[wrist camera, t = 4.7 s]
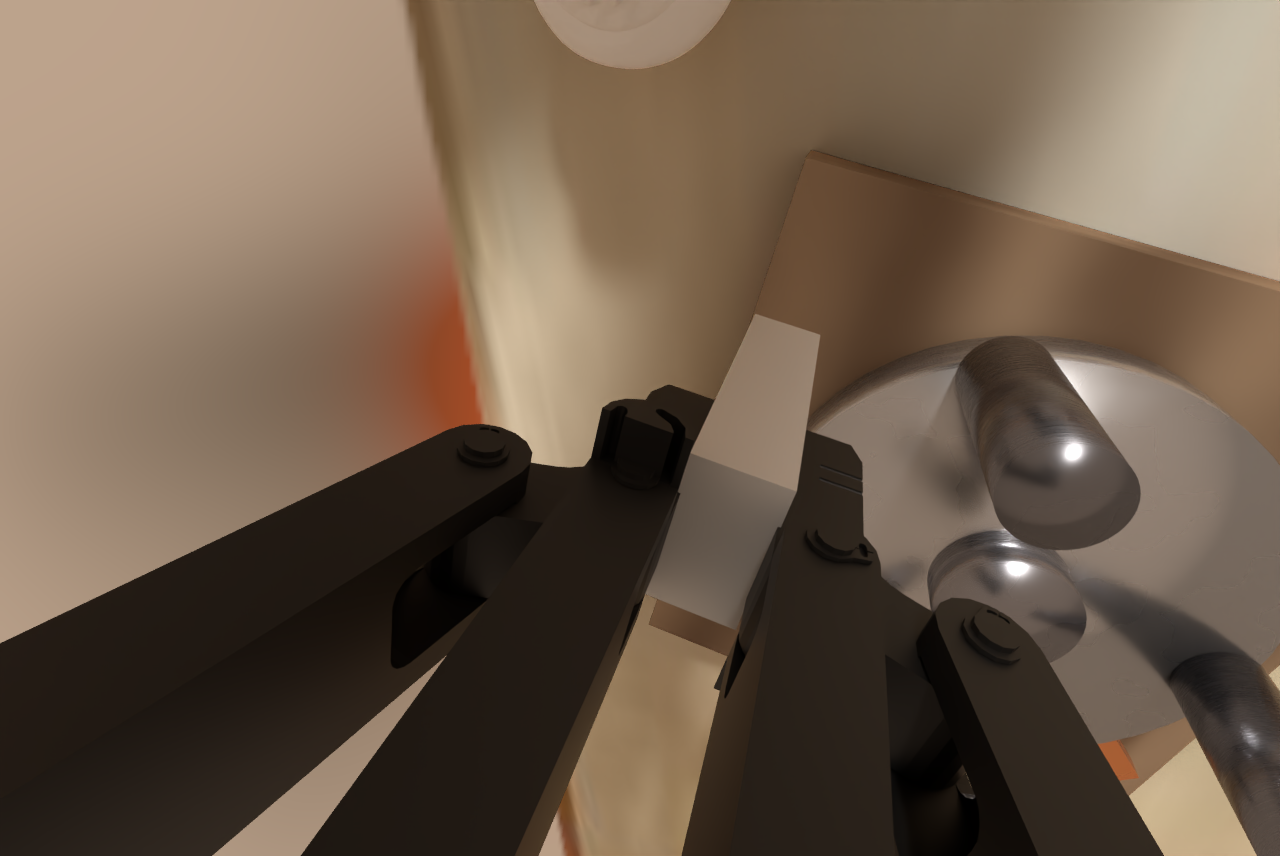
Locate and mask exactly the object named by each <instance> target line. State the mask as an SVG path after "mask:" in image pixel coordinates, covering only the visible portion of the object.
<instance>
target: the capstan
mask: <svg viewBox="0 0 1280 856" xmlns="http://www.w3.org/2000/svg"><path fill="white" fill-rule="evenodd" d="M806 430H809V431H811V432H814V433H817V434H820V435H823V436H826V437H829V438H832V439H835V440H838V441H840V442H843V443H846V444H849V445H851V446H852V447H853V449H854V450H855V452H856V454H857V455H858V457H859V458H860V460H861V461H862V463H863V480H862V482H863V493H862V495H863V522H864V537H866V538H867V540H868V541H869V542H870V543H871V545H872V546H873V547H874V548H875V549H876V551H877V554H878V557H879V560H880V563H881V577H882V578H884V579H885V580H886V581H887V582H888V583H889V584H890V585H891V586H893V587H894V588H896V589H897V590H898V591H900V592H901V593H903V594H904V595H906V596H907V597H909V598H911V599H912V600H914V601H916V602H917V603H919V604H921V605H922V606H924V607H926V608H927V609H929V610H931V611H932V612H934V611H935V610H936V608H937V607H938V605H939V604H940V602H943V601H945V600H948V599H950V598H966V599H972V600H975V601H977V602H980V603H983V604H986V605H989V606H991V607H993V608H995V609H997V610H998V611H1000V612H1002V613H1004V614H1005V615H1007V616H1009V617H1010V618H1011V619H1012V620H1013V621H1015V622H1016V623H1017V624H1018V625H1019V626H1021V627H1022V628H1023V629H1024V630H1025V631H1026V632H1028V633H1029V635H1030V636H1031V637H1032V638H1033V640H1034V641H1035V642H1036V644H1037V645H1038V646H1039V647H1040V649H1041V650H1042V652H1043V653H1044V655H1045V657H1046V658H1047V660H1048V662H1049V663H1050V665H1051V667H1052V668H1053V670H1054V672H1055V673H1056V675H1057V677H1058V678H1059V680H1060V682H1061V683H1062V685H1063V687H1064V689H1065V690H1066V692H1067V694H1068V695H1069V697H1070V699H1071V700H1072V702H1073V704H1074V705H1075V707H1076V709H1077V710H1078V712H1079V714H1080V715H1081V717H1082V719H1083V720H1084V722H1085V724H1086V725H1087V727H1088V729H1089V731H1090V732H1091V734H1092V736H1093V737H1094V739H1095V741H1096V742H1097V744H1098V746H1099V747H1100V749H1101V751H1102V752H1103V754H1104V756H1105V757H1106V759H1107V761H1108V762H1109V764H1110V766H1111V767H1112V769H1113V771H1114V773H1115V774H1116V776H1117V778H1118V779H1119V781H1121V780H1128V779H1136V778H1139V777H1138V774H1137V772H1136V769H1135V767H1134V764H1133V762H1132V759H1131V757H1130V755H1129V754H1128V752H1127V750H1126V749H1125V747H1124V745H1123V744H1122V742H1121V740H1120V739H1124V738H1128V737H1132V736H1136V735H1140V734H1143V733H1146V732H1149V731H1152V730H1155V729H1158V728H1160V727H1163V726H1166V725H1169V724H1171V723H1174V722H1176V721H1178V720H1180V719H1182V718H1185V717H1186V719H1187V721H1188V723H1189V725H1190V727H1191V729H1192V731H1193V733H1194V735H1195V737H1196V738H1197V740H1198V742H1199V744H1200V746H1201V748H1202V750H1203V752H1204V754H1205V756H1206V758H1207V760H1208V762H1209V764H1210V766H1211V767H1212V769H1213V771H1214V773H1215V775H1216V777H1217V779H1218V781H1219V783H1220V785H1221V787H1222V789H1223V791H1224V793H1225V795H1226V796H1227V798H1228V800H1229V802H1230V804H1231V806H1232V808H1233V810H1234V812H1235V814H1236V816H1237V818H1238V820H1239V822H1240V824H1241V825H1242V827H1243V829H1244V831H1245V833H1246V835H1247V837H1248V839H1249V841H1250V843H1251V845H1252V847H1253V849H1254V851H1255V853H1256V854H1257V856H1280V691H1279V689H1278V688H1277V686H1276V685H1275V684H1274V682H1273V681H1272V679H1271V678H1270V676H1269V675H1268V674H1267V672H1266V671H1265V669H1264V668H1263V667H1262V666H1261V665H1262V664H1263V663H1264V662H1265V661H1266V660H1267V659H1268V658H1269V657H1270V655H1271V654H1272V653H1273V652H1274V650H1275V649H1276V648H1277V646H1278V645H1279V643H1280V465H1279V464H1278V462H1277V461H1276V459H1275V458H1274V457H1273V456H1272V455H1271V454H1270V453H1269V452H1268V451H1267V450H1266V449H1265V448H1264V447H1263V446H1262V445H1261V444H1260V443H1259V441H1258V440H1257V439H1256V438H1255V437H1254V436H1253V435H1252V434H1251V433H1250V432H1249V431H1248V430H1246V429H1245V428H1244V427H1243V426H1242V425H1241V424H1240V423H1239V422H1237V421H1236V420H1235V419H1234V418H1233V417H1232V416H1231V415H1229V414H1228V413H1227V412H1226V411H1225V410H1224V409H1223V408H1222V407H1220V406H1219V405H1218V404H1217V403H1216V402H1215V401H1214V400H1212V399H1211V398H1210V397H1208V396H1207V395H1206V394H1204V393H1203V392H1202V391H1200V390H1199V389H1198V388H1196V387H1195V386H1194V385H1192V384H1191V383H1190V382H1188V381H1187V380H1186V379H1184V378H1182V377H1180V376H1178V375H1176V374H1175V373H1173V372H1171V371H1169V370H1167V369H1165V368H1163V367H1161V366H1160V365H1158V364H1156V363H1154V362H1152V361H1149V360H1146V359H1144V358H1141V357H1138V356H1136V355H1133V354H1130V353H1128V352H1125V351H1122V350H1120V349H1116V348H1112V347H1108V346H1103V345H1099V344H1095V343H1091V342H1087V341H1083V340H1075V339H1067V338H1058V337H1050V336H1007V335H1005V336H995V337H985V338H976V339H967V340H962V341H958V342H953V343H948V344H944V345H939V346H934V347H930V348H927V349H925V350H922V351H919V352H916V353H913V354H910V355H907V356H904V357H901V358H898V359H896V360H894V361H891V362H889V363H887V364H885V365H883V366H881V367H879V368H877V369H874V370H872V371H870V372H868V373H866V374H865V375H863V376H862V377H860V378H858V379H857V380H855V381H854V382H852V383H850V384H849V385H847V386H846V387H844V388H842V389H841V390H840V391H839V392H837V393H836V394H835V395H834V396H832V397H831V398H830V399H829V400H827V401H826V402H825V403H824V404H823V405H821V406H820V407H819V408H818V409H817V410H816V411H815V412H814V413H813V414H812V415H811V416H810V417H809V419H808V420H807V427H806Z"/></svg>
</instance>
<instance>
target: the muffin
mask: <svg viewBox="0 0 1280 856" xmlns="http://www.w3.org/2000/svg"><path fill="white" fill-rule="evenodd" d="M534 2H535V4H536V6H537V8H538V10H539V12H540V14H541V15H542V17H543V18H544V20H545V22H546V23H547V25H548V26H549V28H550V29H551V30H552V32H553V33H554V34H555V35H556V36H557V38H558V39H559V40H560V41H561V42H562V43H563V44H565V45H566V46H567V47H568V48H569V49H571V50H572V51H573V52H575V53H576V54H578V55H579V56H581V57H583V58H585V59H587V60H590V61H592V62H594V63H598V64H601V65H604V66H609V67H614V68H620V69H644V68H651V67H655V66H659V65H662V64H665V63H668V62H670V61H672V60H675V59H677V58H679V57H680V56H682V55H684V54H685V53H687V52H688V51H690V50H691V49H692V48H694V47H695V46H696V45H697V44H698V43H699V42H700V41H701V40H703V39H704V38H705V36H706V35H707V34H708V33H709V32H710V31H711V30H712V29H713V27H714V26H715V25H716V24H717V22H718V21H719V20H720V18H721V17H722V15H723V14H724V12H725V10H726V9H727V7H728V5H729V3H730V2H731V0H534Z"/></svg>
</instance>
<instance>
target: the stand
mask: <svg viewBox="0 0 1280 856" xmlns="http://www.w3.org/2000/svg"><path fill="white" fill-rule="evenodd" d="M755 314H757V315H761V316H764V317H767V318H770V319H773V320H776V321H779V322H782V323H785V324H788V325H792V326H795V327H798V328H801V329H804V330H807V331H810V332H813V333H816V334H819V335H820V341H819V348H818V354H817V361H816V367H815V374H814V381H813V387H812V394H811V400H810V407H809V414H808V419H809V417H810V416H811V415H812V414H813V413H814V412H815V411H816V410H817V409H818V408H819V407H820V406H821V405H823V404H824V403H825V402H826V401H827V400H829V399H830V398H831V397H832V396H834V395H835V394H836V393H837V392H839V391H840V390H841V389H842V388H844V387H846V386H847V385H849V384H850V383H852V382H854V381H855V380H857V379H858V378H860V377H862V376H863V375H865V374H866V373H868V372H870V371H872V370H874V369H877V368H879V367H881V366H883V365H885V364H887V363H889V362H891V361H894V360H896V359H898V358H901V357H904V356H907V355H910V354H913V353H916V352H919V351H922V350H925V349H927V348H930V347H934V346H939V345H944V344H948V343H953V342H958V341H962V340H967V339H976V338H985V337H995V336H1005V335H1007V336H1050V337H1058V338H1067V339H1075V340H1083V341H1087V342H1091V343H1095V344H1099V345H1103V346H1108V347H1112V348H1116V349H1120V350H1122V351H1125V352H1128V353H1130V354H1133V355H1136V356H1138V357H1141V358H1144V359H1146V360H1149V361H1152V362H1154V363H1156V364H1158V365H1160V366H1161V367H1163V368H1165V369H1167V370H1169V371H1171V372H1173V373H1175V374H1176V375H1178V376H1180V377H1182V378H1184V379H1186V380H1187V381H1188V382H1190V383H1191V384H1192V385H1194V386H1195V387H1196V388H1198V389H1199V390H1200V391H1202V392H1203V393H1204V394H1206V395H1207V396H1208V397H1210V398H1211V399H1212V400H1214V401H1215V402H1216V403H1217V404H1218V405H1219V406H1220V407H1222V408H1223V409H1224V410H1225V411H1226V412H1227V413H1228V414H1229V415H1231V416H1232V417H1233V418H1234V419H1235V420H1236V421H1237V422H1239V423H1240V424H1241V425H1242V426H1243V427H1244V428H1245V429H1246V430H1248V431H1249V432H1250V433H1251V434H1252V435H1253V436H1254V437H1255V438H1256V439H1257V440H1258V441H1259V443H1260V444H1261V445H1262V446H1263V447H1264V448H1265V449H1266V450H1267V451H1268V452H1269V453H1270V454H1271V455H1272V456H1273V457H1274V458H1275V459H1276V461H1277V462H1278V464H1279V465H1280V282H1279V281H1276V280H1272V279H1268V278H1265V277H1261V276H1258V275H1254V274H1251V273H1247V272H1244V271H1240V270H1236V269H1233V268H1229V267H1226V266H1222V265H1219V264H1215V263H1211V262H1208V261H1204V260H1201V259H1197V258H1194V257H1190V256H1187V255H1183V254H1179V253H1176V252H1172V251H1169V250H1165V249H1162V248H1158V247H1154V246H1151V245H1147V244H1144V243H1140V242H1137V241H1133V240H1130V239H1126V238H1122V237H1119V236H1115V235H1112V234H1108V233H1105V232H1101V231H1097V230H1094V229H1090V228H1087V227H1083V226H1080V225H1076V224H1073V223H1069V222H1065V221H1062V220H1058V219H1055V218H1051V217H1048V216H1044V215H1041V214H1037V213H1033V212H1030V211H1026V210H1023V209H1019V208H1016V207H1012V206H1008V205H1005V204H1001V203H998V202H994V201H991V200H987V199H984V198H980V197H976V196H973V195H969V194H966V193H962V192H959V191H955V190H951V189H948V188H944V187H941V186H937V185H934V184H930V183H927V182H923V181H919V180H916V179H912V178H909V177H905V176H902V175H898V174H894V173H891V172H887V171H884V170H880V169H877V168H873V167H870V166H866V165H862V164H859V163H855V162H852V161H848V160H845V159H841V158H837V157H834V156H830V155H827V154H823V153H820V152H816V151H813V150H811V151H810V153H809V154H808V155H807V157H806V159H805V162H804V165H803V168H802V171H801V173H800V176H799V179H798V182H797V185H796V188H795V191H794V194H793V197H792V200H791V203H790V206H789V209H788V212H787V215H786V218H785V221H784V224H783V227H782V230H781V233H780V236H779V239H778V242H777V245H776V248H775V251H774V254H773V257H772V260H771V263H770V266H769V269H768V272H767V275H766V278H765V280H764V283H763V286H762V289H761V292H760V295H759V298H758V301H757V304H756V307H755V310H754V313H753V316H752V319H751V322H752V320H753V317H754V315H755ZM751 322H750V324H751ZM749 326H750V325H749ZM742 616H743V614H742ZM741 620H742V617H741V619H740V621H739V623H738V626H737V628H736V630H734V629H732V628H729V627H727V626H724V625H722V624H719V623H717V622H714V621H712V620H709V619H707V618H704V617H701V616H699V615H696V614H694V613H691V612H689V611H686V610H684V609H681V608H679V607H676V606H674V605H671V604H669V603H666V602H664V601H661V600H659V599H657V602H656V604H655V607H654V610H653V613H652V616H651V619H650V622H649V625H652V626H654V627H657V628H659V629H661V630H664V631H666V632H669V633H671V634H674V635H676V636H679V637H681V638H684V639H686V640H689V641H691V642H694V643H696V644H699V645H701V646H704V647H706V648H709V649H711V650H713V651H716V652H718V653H721V654H723V655H726V656H728V655H729V652H730V650H731V648H732V646H733V644H734V641H735V639H736V637H737V635H738V632H739V629H740V625H741ZM1279 665H1280V643H1279V645H1278V646H1277V648H1276V649H1275V650H1274V652H1273V653H1272V654H1271V655H1270V657H1269V658H1268V659H1267V660H1266V661H1265V662H1264V663H1263V664H1262V665H1261V666H1262V667H1263V668H1264V669H1265V671H1266V672H1267V674H1268V675H1269V674H1270V673H1271V672H1272V671H1273V670H1274V669H1276V668H1277V667H1278V666H1279ZM1195 738H1196V737H1195V735H1194V733H1193V731H1192V729H1191V727H1190V725H1189V723H1188V721H1187V719H1186V717H1185V718H1182V719H1180V720H1178V721H1176V722H1174V723H1171V724H1169V725H1166V726H1163V727H1160V728H1158V729H1155V730H1152V731H1149V732H1146V733H1143V734H1140V735H1136V736H1132V737H1128V738H1124V739H1120V740H1121V742H1122V744H1123V745H1124V747H1125V749H1126V750H1127V752H1128V754H1129V755H1130V757H1131V759H1132V762H1133V764H1134V767H1135V769H1136V772H1137V774H1138V777H1139V778H1136V779H1128V780H1121V781H1120V783H1121V784H1122V786H1123V788H1124V789H1125V791H1126V793H1127V794H1128V796H1129V795H1130V794H1131V793H1133V792H1134V791H1135V790H1136V789H1137V788H1138V787H1139V786H1141V785H1142V784H1143V783H1144V782H1145V781H1146V780H1148V779H1149V778H1150V777H1151V776H1152V775H1153V774H1154V773H1156V772H1157V771H1158V770H1159V769H1160V768H1161V767H1163V766H1164V765H1165V764H1166V763H1167V762H1168V761H1169V760H1171V759H1172V758H1173V757H1174V756H1175V755H1176V754H1178V753H1179V752H1180V751H1181V750H1182V749H1183V748H1184V747H1186V746H1187V745H1188V744H1189V743H1190V742H1191V741H1193V740H1194V739H1195Z"/></svg>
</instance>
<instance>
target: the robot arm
mask: <svg viewBox="0 0 1280 856" xmlns="http://www.w3.org/2000/svg"><path fill="white" fill-rule="evenodd" d="M819 341H820V335H819V334H816V333H813V332H810V331H807V330H804V329H801V328H798V327H795V326H792V325H788V324H785V323H782V322H779V321H776V320H773V319H770V318H767V317H764V316H761V315H757V314H755V315H754V317H753V320H752V322H751V324H750V326H749V328H748V330H747V332H746V335H745V337H744V339H743V341H742V343H741V345H740V347H739V350H738V352H737V354H736V356H735V358H734V360H733V362H732V365H731V367H730V369H729V371H728V373H727V375H726V378H725V380H724V382H723V384H722V386H721V388H720V390H719V393H718V395H717V397H716V399H715V400H713V399H710V398H707V397H704V396H701V395H698V394H695V393H692V392H690V391H687V390H684V389H681V388H678V387H675V386H672V385H667V386H664V387H662V388H659V389H657V390H654V391H652V392H651V393H650V395H649V396H648V397H647V399H646V400H639V399H623V400H618V401H613V402H611V403H609V404H608V405H606V406H605V407H603V408H602V412H601V416H600V421H599V425H598V429H597V434H596V438H595V443H594V447H593V452H592V456H591V458H590V460H589V461H588V462H587V464H586V465H585V466H583V467H572V468H567V467H555V466H548V465H542V464H536V463H531V457H532V451H531V449H530V447H529V445H528V444H527V442H526V441H525V440H523V439H522V438H521V437H519V436H518V435H517V434H516V433H513V432H511V431H508V430H506V429H503V428H501V427H496V426H490V425H485V424H474V425H462V426H459V427H455V428H452V429H449V430H446V431H444V432H442V433H440V434H438V435H436V436H434V437H432V438H430V439H427V440H426V441H423V442H421V443H419V444H417V445H415V446H413V447H411V448H409V449H407V450H405V451H403V452H400V453H398V454H396V455H394V456H392V457H390V458H388V459H386V460H383V461H381V462H379V463H377V464H375V465H373V466H371V467H369V468H367V469H365V470H363V471H360V472H358V473H356V474H354V475H352V476H350V477H348V478H346V479H344V480H342V481H340V482H337V483H335V484H333V485H331V486H329V487H327V488H325V489H323V490H321V491H319V492H316V493H314V494H312V495H310V496H308V497H306V498H304V499H302V500H300V501H298V502H296V503H293V504H291V505H289V506H287V507H285V508H283V509H281V510H279V511H277V512H275V513H273V514H271V515H268V516H266V517H264V518H262V519H260V520H258V521H256V522H254V523H251V524H250V525H247V526H245V527H243V528H241V529H239V530H237V531H235V532H233V533H231V534H228V535H227V536H224V537H222V538H220V539H218V540H216V541H214V542H212V543H210V544H207V545H205V546H203V547H201V548H199V549H197V550H195V551H193V552H191V553H189V554H187V555H184V556H182V557H180V558H178V559H176V560H174V561H172V562H170V563H168V564H166V565H163V566H162V567H159V568H157V569H155V570H153V571H151V572H149V573H147V574H145V575H143V576H141V577H139V578H136V579H134V580H132V581H130V582H128V583H126V584H124V585H122V586H120V587H117V588H115V589H113V590H111V591H109V592H107V593H105V594H103V595H101V596H99V597H96V598H95V599H92V600H90V601H88V602H86V603H84V604H82V605H80V606H78V607H75V608H74V609H72V610H69V611H67V612H65V613H63V614H61V615H59V616H57V617H55V618H52V619H50V620H48V621H46V622H44V623H42V624H40V625H38V626H36V627H34V628H32V629H29V630H27V631H25V632H23V633H21V634H19V635H17V636H15V637H13V638H11V639H8V640H6V641H4V642H2V643H0V856H212V855H213V854H215V853H216V852H217V851H218V850H219V849H220V848H222V847H223V846H224V845H225V844H226V843H227V842H229V841H230V840H231V839H232V838H233V837H234V836H236V835H237V834H238V833H239V832H240V831H241V830H243V828H245V827H246V826H247V825H249V824H250V823H251V822H252V821H253V820H254V819H256V818H257V817H258V816H259V815H260V814H261V813H262V812H264V811H265V810H266V809H267V808H268V807H270V806H271V805H272V804H273V803H274V802H275V801H277V799H279V798H280V797H281V796H282V795H283V794H285V793H286V792H287V791H288V790H289V789H291V788H292V787H293V786H294V785H295V784H296V783H298V782H299V781H300V780H301V779H302V778H303V777H305V776H306V775H307V774H308V773H309V772H311V771H312V770H313V769H314V768H315V767H316V766H318V765H319V764H320V763H321V762H322V761H323V760H324V759H326V758H327V757H328V756H329V755H330V754H331V753H333V752H334V751H335V750H336V749H337V748H339V747H340V746H341V745H342V744H343V743H344V742H345V741H347V740H348V739H349V738H350V737H351V736H353V735H354V734H355V733H356V732H357V731H358V730H359V729H361V728H362V727H363V726H364V725H365V724H367V723H368V722H369V721H370V720H371V719H372V718H374V717H375V716H376V715H377V714H378V713H380V712H381V711H382V710H383V709H384V708H385V707H387V706H388V705H389V704H390V703H391V702H392V701H394V700H395V699H396V698H397V697H398V696H399V695H401V694H402V693H403V692H404V691H405V690H406V689H408V688H409V687H410V686H411V685H412V684H413V683H415V682H416V681H417V680H418V679H419V678H420V677H422V676H423V675H424V674H425V673H426V672H427V671H429V670H430V669H431V668H432V667H433V666H435V665H436V664H437V663H438V662H439V661H440V660H441V659H442V658H444V657H445V656H446V655H447V656H446V657H445V659H444V660H443V661H442V663H441V664H440V665H439V667H438V668H437V670H436V671H435V672H434V674H433V675H432V676H431V678H430V679H429V680H428V682H427V683H426V685H425V686H424V687H423V689H422V690H421V691H420V693H419V694H418V696H417V697H416V698H415V700H414V701H413V702H412V704H411V705H410V707H409V708H408V709H407V711H406V712H405V713H404V715H403V716H402V718H401V719H400V720H399V722H398V723H397V724H396V726H395V727H394V729H393V730H392V731H391V733H390V734H389V735H388V737H387V738H386V739H385V741H384V742H383V744H382V745H381V746H380V748H379V749H378V750H377V752H376V753H375V755H374V756H373V757H372V759H371V760H370V761H369V763H368V764H367V766H366V767H365V768H364V770H363V771H362V772H361V774H360V775H359V777H358V778H357V779H356V781H355V782H354V784H353V785H352V786H351V788H350V789H349V790H348V792H347V793H346V794H345V796H344V797H343V799H342V800H341V801H340V803H339V804H338V805H337V807H336V808H335V809H334V811H333V812H332V814H331V815H330V816H329V818H328V819H327V821H326V822H325V823H324V825H323V826H322V827H321V829H320V830H319V831H318V833H317V834H316V836H315V837H314V838H313V840H312V841H311V842H310V844H309V845H308V846H307V848H306V849H305V851H304V852H303V853H302V855H301V856H538V855H539V853H540V851H541V848H542V846H543V843H544V841H545V839H546V836H547V834H548V831H549V829H550V826H551V824H552V822H553V819H554V817H555V815H556V812H557V810H558V807H559V805H560V803H561V800H562V798H563V795H564V793H565V790H566V788H567V786H568V783H569V781H570V778H571V776H572V774H573V771H574V769H575V766H576V764H577V762H578V759H579V757H580V754H581V752H582V750H583V747H584V745H585V742H586V740H587V738H588V735H589V733H590V730H591V728H592V726H593V723H594V721H595V718H596V716H597V714H598V711H599V709H600V706H601V704H602V702H603V699H604V697H605V694H606V692H607V690H608V687H609V685H610V682H611V680H612V678H613V675H614V673H615V670H616V668H617V666H618V663H619V661H620V658H621V656H622V653H623V651H624V649H625V646H626V644H627V641H628V639H629V637H630V634H631V632H632V629H633V627H634V625H635V622H636V620H637V617H638V614H639V611H640V608H641V605H642V602H643V598H644V595H645V594H646V595H649V596H651V597H654V598H656V599H659V600H661V601H664V602H666V603H669V604H671V605H674V606H676V607H679V608H681V609H684V610H686V611H689V612H691V613H694V614H696V615H699V616H701V617H704V618H707V619H709V620H712V621H714V622H717V623H719V624H722V625H724V626H727V627H729V628H732V629H734V630H736V628H737V626H738V623H739V621H740V619H741V617H742V620H741V625H740V629H739V632H738V635H737V637H736V639H735V641H734V644H733V646H732V648H731V650H730V652H729V655H728V657H727V659H726V661H725V664H724V666H723V668H722V670H721V673H720V675H719V677H718V679H717V682H716V684H715V686H714V688H715V689H717V690H720V693H719V697H718V702H717V706H716V710H715V714H714V719H713V723H712V727H711V732H710V736H709V740H708V744H707V749H706V753H705V757H704V762H703V766H702V770H701V774H700V779H699V783H698V787H697V792H696V796H695V800H694V804H693V809H692V813H691V817H690V822H689V826H688V830H687V834H686V839H685V843H684V847H683V852H682V856H1164V855H1163V853H1162V851H1161V850H1160V848H1159V846H1158V845H1157V843H1156V841H1155V840H1154V838H1153V836H1152V835H1151V833H1150V831H1149V830H1148V828H1147V826H1146V825H1145V823H1144V821H1143V820H1142V818H1141V816H1140V815H1139V813H1138V811H1137V809H1136V808H1135V806H1134V804H1133V803H1132V801H1131V799H1130V798H1129V796H1128V794H1127V793H1126V791H1125V789H1124V788H1123V786H1122V784H1121V783H1120V781H1119V779H1118V778H1117V776H1116V774H1115V773H1114V771H1113V769H1112V767H1111V766H1110V764H1109V762H1108V761H1107V759H1106V757H1105V756H1104V754H1103V752H1102V751H1101V749H1100V747H1099V746H1098V744H1097V742H1096V741H1095V739H1094V737H1093V736H1092V734H1091V732H1090V731H1089V729H1088V727H1087V725H1086V724H1085V722H1084V720H1083V719H1082V717H1081V715H1080V714H1079V712H1078V710H1077V709H1076V707H1075V705H1074V704H1073V702H1072V700H1071V699H1070V697H1069V695H1068V694H1067V692H1066V690H1065V689H1064V687H1063V685H1062V683H1061V682H1060V680H1059V678H1058V677H1057V675H1056V673H1055V672H1054V670H1053V668H1052V667H1051V665H1050V663H1049V662H1048V660H1047V658H1046V657H1045V655H1044V653H1043V652H1042V650H1041V649H1040V647H1039V646H1038V645H1037V644H1036V642H1035V641H1034V640H1033V638H1032V637H1031V636H1030V635H1029V633H1028V632H1026V631H1025V630H1024V629H1023V628H1022V627H1021V626H1019V625H1018V624H1017V623H1016V622H1015V621H1013V620H1012V619H1011V618H1010V617H1009V616H1007V615H1005V614H1004V613H1002V612H1000V611H998V610H997V609H995V608H993V607H991V606H989V605H986V604H983V603H980V602H977V601H975V600H972V599H966V598H950V599H948V600H945V601H943V602H940V604H939V605H938V607H937V608H936V610H935V611H934V612H932V611H931V610H929V609H927V608H926V607H924V606H922V605H921V604H919V603H917V602H916V601H914V600H912V599H911V598H909V597H907V596H906V595H904V594H903V593H901V592H900V591H898V590H897V589H896V588H894V587H893V586H891V585H890V584H889V583H888V582H887V581H886V580H885V579H884V578H882V577H881V563H880V560H879V557H878V554H877V551H876V549H875V548H874V547H873V546H872V545H871V543H870V542H869V541H868V540H867V538H866V537H864V522H863V495H862V493H863V482H862V480H863V463H862V461H861V460H860V458H859V457H858V455H857V454H856V452H855V450H854V449H853V447H852V446H851V445H849V444H846V443H843V442H840V441H838V440H835V439H832V438H829V437H826V436H823V435H820V434H817V433H814V432H811V431H809V430H806V427H807V420H808V414H809V407H810V400H811V394H812V387H813V381H814V374H815V367H816V361H817V354H818V348H819ZM742 614H743V616H742ZM966 774H967V775H966ZM967 776H968V777H967ZM968 779H969V780H968ZM969 782H970V783H969ZM970 784H971V785H970Z"/></svg>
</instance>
